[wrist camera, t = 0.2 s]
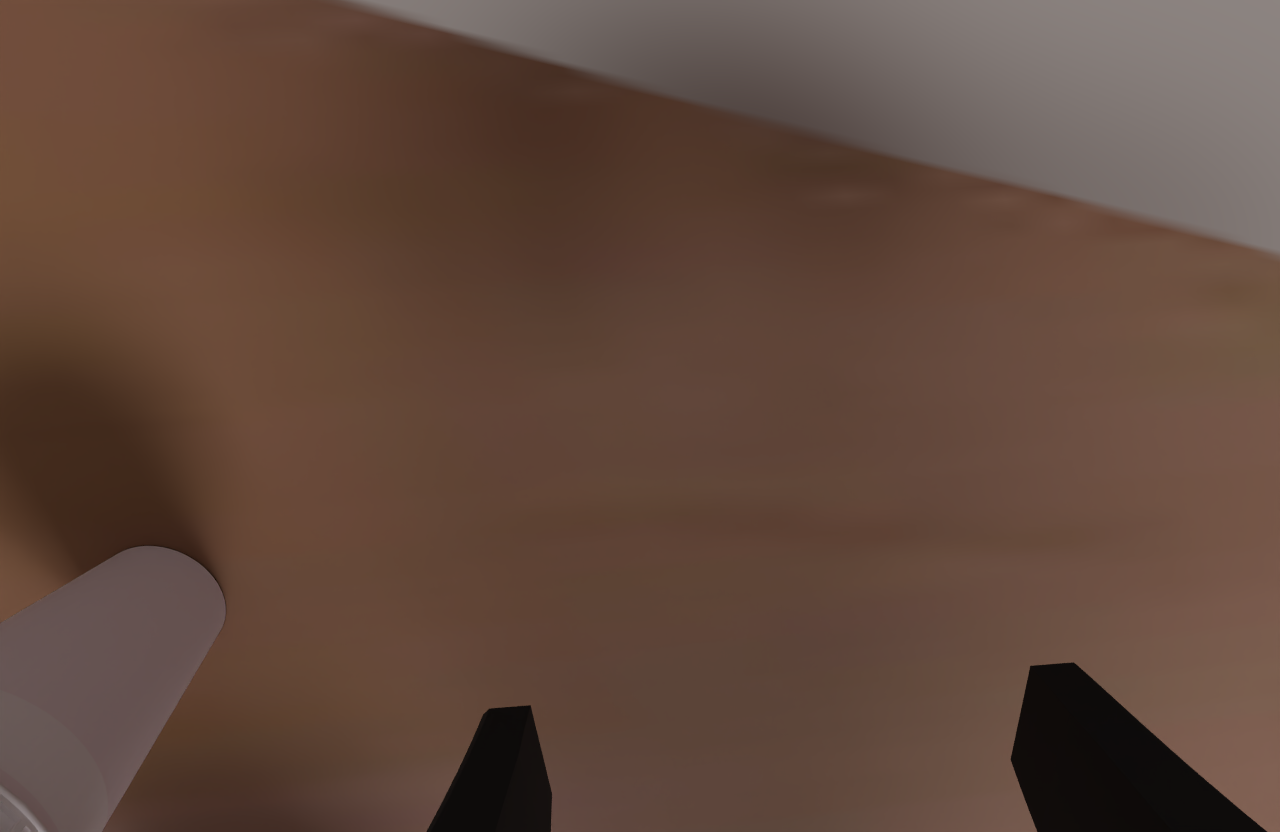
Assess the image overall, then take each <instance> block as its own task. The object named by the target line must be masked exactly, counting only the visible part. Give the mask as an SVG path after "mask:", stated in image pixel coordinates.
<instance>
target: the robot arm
mask: <svg viewBox="0 0 1280 832" xmlns="http://www.w3.org/2000/svg"><path fill="white" fill-rule="evenodd" d="M1011 762H1012V765H1013V767H1014V770H1015V773H1016V776H1017V779H1018V781H1019V784H1020V787H1021V790H1022V792H1023V795H1024V798H1025V801H1026V803H1027V806H1028V809H1029V811H1030V814H1031V816H1032V819H1033V821H1034V824H1035V827H1036V829H1037V832H1267V831H1265V830H1264V829H1263V828H1262V827H1261V826H1259V825H1258V824H1257V823H1256V822H1255V821H1253V820H1252V819H1251V818H1250V817H1249V816H1247V815H1246V814H1245V813H1244V812H1242V811H1241V810H1240V809H1239V808H1238V807H1237V806H1235V805H1234V804H1233V803H1232V802H1231V801H1230V800H1228V799H1227V798H1226V797H1225V796H1224V795H1223V794H1221V793H1220V792H1219V791H1218V790H1217V789H1215V788H1214V787H1213V786H1212V785H1211V784H1210V783H1208V782H1207V781H1206V780H1205V779H1204V778H1203V777H1201V776H1200V775H1199V774H1198V773H1197V772H1196V771H1194V770H1193V769H1192V768H1191V767H1190V766H1189V765H1188V764H1186V763H1185V762H1184V761H1183V760H1182V759H1181V758H1180V757H1178V756H1177V755H1176V754H1175V753H1174V752H1173V751H1172V750H1171V749H1169V748H1168V747H1167V746H1166V745H1165V744H1164V743H1163V742H1162V741H1160V740H1159V739H1158V738H1157V737H1156V736H1155V735H1154V734H1153V733H1152V732H1150V731H1149V730H1148V729H1147V728H1146V727H1145V726H1144V725H1143V724H1142V723H1140V722H1139V721H1138V720H1137V719H1136V718H1135V717H1134V716H1133V715H1132V714H1130V713H1129V712H1128V711H1127V710H1126V709H1125V708H1124V707H1123V706H1122V705H1121V704H1119V703H1118V702H1117V701H1116V700H1115V699H1114V698H1113V697H1112V696H1111V695H1110V694H1109V693H1107V692H1106V691H1105V690H1104V689H1103V688H1102V687H1101V686H1100V685H1099V684H1098V683H1096V682H1095V681H1094V680H1093V679H1092V678H1091V677H1090V676H1089V675H1088V674H1086V673H1085V672H1084V671H1083V670H1082V669H1081V668H1080V667H1079V666H1077V665H1076V664H1075V663H1062V664H1049V665H1036V666H1030V671H1029V675H1028V680H1027V685H1026V690H1025V694H1024V699H1023V704H1022V708H1021V713H1020V718H1019V723H1018V727H1017V732H1016V737H1015V741H1014V746H1013V751H1012V756H1011ZM551 806H552V792H551V788H550V784H549V780H548V776H547V772H546V767H545V763H544V759H543V755H542V751H541V747H540V743H539V739H538V734H537V730H536V726H535V722H534V718H533V714H532V710H531V705H529V706H517V707H504V708H491V709H489V710H488V711H487V712H485V713H484V714H483V716H482V719H481V721H480V723H479V726H478V728H477V731H476V733H475V735H474V737H473V740H472V742H471V744H470V746H469V748H468V751H467V753H466V755H465V757H464V759H463V761H462V763H461V765H460V768H459V770H458V772H457V774H456V776H455V778H454V780H453V782H452V784H451V786H450V788H449V790H448V792H447V794H446V796H445V798H444V800H443V802H442V804H441V806H440V808H439V809H438V811H437V813H436V815H435V817H434V819H433V821H432V823H431V824H430V826H429V828H428V830H427V832H551Z"/></svg>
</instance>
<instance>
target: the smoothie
mask: <svg viewBox="0 0 1280 832" xmlns="http://www.w3.org/2000/svg"><path fill="white" fill-rule="evenodd" d="M225 616H226V606H225V600H224V596H223V593H222V591H221V589H220V587H219V585H218V583H217V582H216V580H215V579H214V577H213V576H212V575H211V574H210V573H209V572H208V571H207V570H206V569H205V568H204V567H203V566H202V565H201V564H199V563H198V562H197V561H195V560H194V559H192V558H190V557H189V556H187V555H185V554H183V553H180V552H178V551H175V550H172V549H168V548H164V547H158V546H139V547H133V548H130V549H127V550H124V551H122V552H120V553H118V554H116V555H115V556H113V557H111V558H109V559H108V560H106V561H104V562H103V563H101V564H99V565H98V566H96V567H94V568H93V569H91V570H89V571H87V572H86V573H84V574H82V575H81V576H79V577H77V578H76V579H74V580H72V581H71V582H69V583H67V584H65V585H64V586H62V587H60V588H59V589H57V590H55V591H54V592H52V593H50V594H49V595H47V596H45V597H43V598H42V599H40V600H38V601H37V602H35V603H33V604H32V605H30V606H28V607H27V608H25V609H23V610H21V611H20V612H18V613H16V614H15V615H13V616H11V617H10V618H8V619H6V620H5V621H3V622H1V623H0V832H103V829H104V827H105V826H106V824H107V822H108V820H109V819H110V817H111V815H112V814H113V812H114V810H115V809H116V807H117V805H118V804H119V802H120V800H121V798H122V797H123V795H124V793H125V792H126V790H127V788H128V787H129V785H130V783H131V782H132V780H133V778H134V776H135V775H136V773H137V771H138V770H139V768H140V766H141V765H142V763H143V761H144V759H145V758H146V756H147V754H148V753H149V751H150V749H151V748H152V746H153V744H154V743H155V741H156V739H157V737H158V736H159V734H160V732H161V731H162V729H163V727H164V726H165V724H166V722H167V721H168V719H169V717H170V715H171V714H172V712H173V710H174V709H175V707H176V705H177V704H178V702H179V700H180V699H181V697H182V695H183V693H184V692H185V690H186V688H187V687H188V685H189V683H190V682H191V680H192V678H193V676H194V675H195V673H196V671H197V670H198V668H199V666H200V665H201V663H202V661H203V660H204V658H205V656H206V654H207V653H208V651H209V649H210V648H211V646H212V644H213V643H214V641H215V639H216V638H217V636H218V634H219V632H220V631H221V629H222V627H223V624H224V621H225Z"/></svg>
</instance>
